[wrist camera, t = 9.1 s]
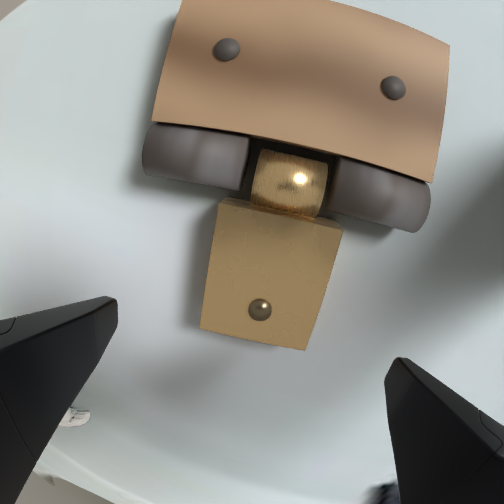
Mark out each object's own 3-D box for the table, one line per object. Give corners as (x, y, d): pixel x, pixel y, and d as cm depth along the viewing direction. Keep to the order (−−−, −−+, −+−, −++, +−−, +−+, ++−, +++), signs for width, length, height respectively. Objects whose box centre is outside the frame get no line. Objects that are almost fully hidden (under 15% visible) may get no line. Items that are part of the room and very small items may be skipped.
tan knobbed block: (302, 328, 19) (305, 355, 16) (208, 308, 19) (197, 332, 16) (347, 169, 15) (360, 171, 13) (237, 144, 16) (229, 141, 13)
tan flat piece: (198, 3, 13) (185, -19, 10) (431, 56, 13) (453, 43, 10) (159, 173, 16) (138, 177, 14) (400, 226, 16) (420, 238, 13)
